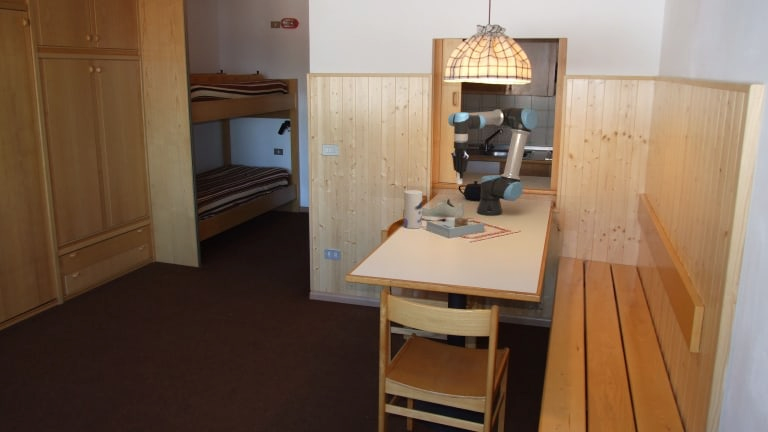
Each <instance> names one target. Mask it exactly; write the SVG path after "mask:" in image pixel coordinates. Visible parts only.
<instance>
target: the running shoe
mask: <svg viewBox="0 0 768 432" xmlns="http://www.w3.org/2000/svg"><path fill="white" fill-rule="evenodd" d="M464 215H465V212H464V205H463V204H462V202H458V203H457V204H456V205H454V204H453V203H452V202H451V201H450V198H445V199H444V200H443V201H442V200H441V201H440V202H439V203H438V204H435V205H434V206H432V207H427V208H425V207H422V220H424V221H430V222H440V221H443V222H446V221H452V220H455V218H460V217H463V218H465V217H464Z"/></svg>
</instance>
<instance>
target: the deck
mask: <svg viewBox="0 0 768 432" xmlns="http://www.w3.org/2000/svg"><path fill="white" fill-rule="evenodd" d="M426 231H428V232H431V233H433V234H436V235H439V236H442V237H445V238H448V239H453V238H457V237H459V238H460V237H463V236H464V235H465V236H469V234H470V235H475V234H474V233H476V234H480V233H484V232H485V222H479V223H474V222H470V221H468V225H467V226H461V227H455V220H452V221H441V222H440V221H439V222H434V221H430V220H426ZM465 236H464V237H465Z"/></svg>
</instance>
